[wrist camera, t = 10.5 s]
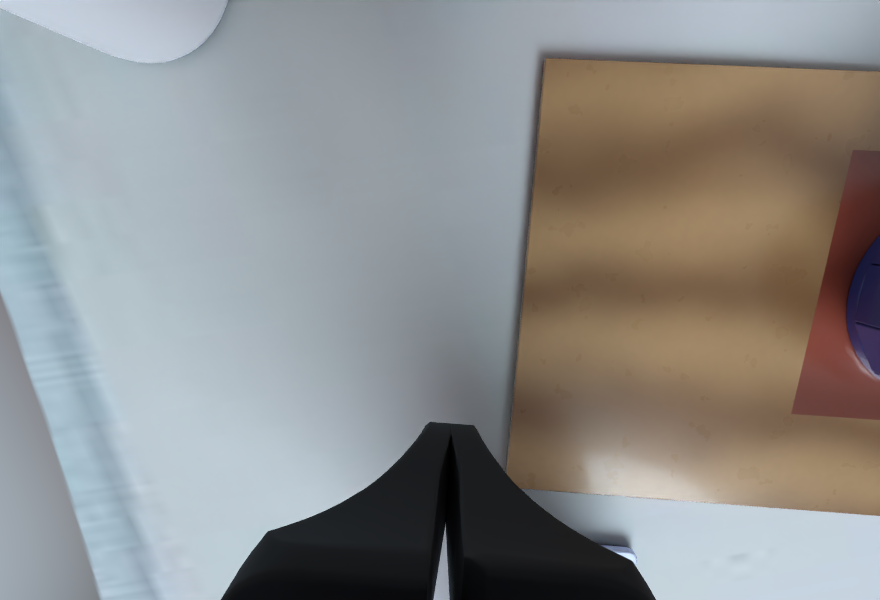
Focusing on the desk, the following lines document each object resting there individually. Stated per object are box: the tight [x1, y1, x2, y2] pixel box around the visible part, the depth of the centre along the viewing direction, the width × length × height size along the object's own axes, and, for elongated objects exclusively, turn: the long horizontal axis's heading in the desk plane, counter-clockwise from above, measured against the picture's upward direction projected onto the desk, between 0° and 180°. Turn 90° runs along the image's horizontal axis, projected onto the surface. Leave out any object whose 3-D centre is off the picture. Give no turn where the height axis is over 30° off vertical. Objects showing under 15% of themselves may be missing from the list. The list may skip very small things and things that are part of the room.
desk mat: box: [506, 58, 880, 516], centre depth 20 cm, size 20×25×1 cm
